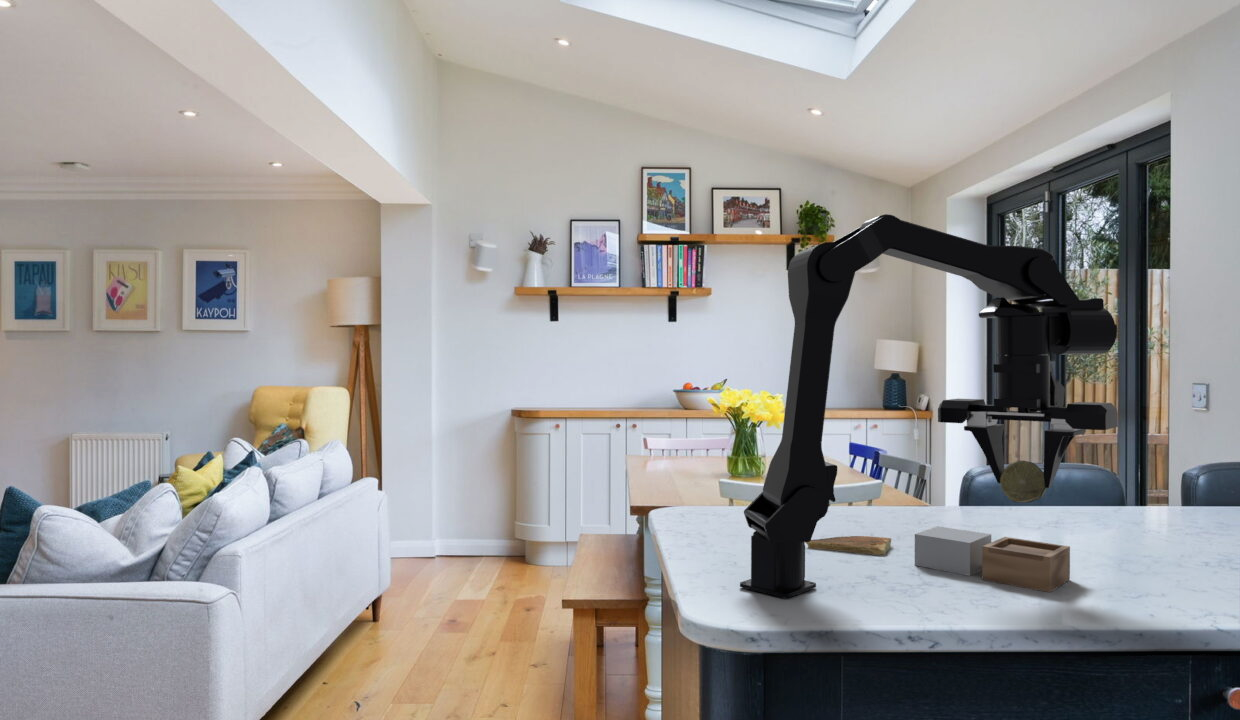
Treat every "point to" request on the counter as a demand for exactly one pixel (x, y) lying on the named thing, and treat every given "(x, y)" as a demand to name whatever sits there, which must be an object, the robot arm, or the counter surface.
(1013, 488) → the lime
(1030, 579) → the brown hollow rimmed box
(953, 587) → the counter surface
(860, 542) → the shard
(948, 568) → the grey stone block
